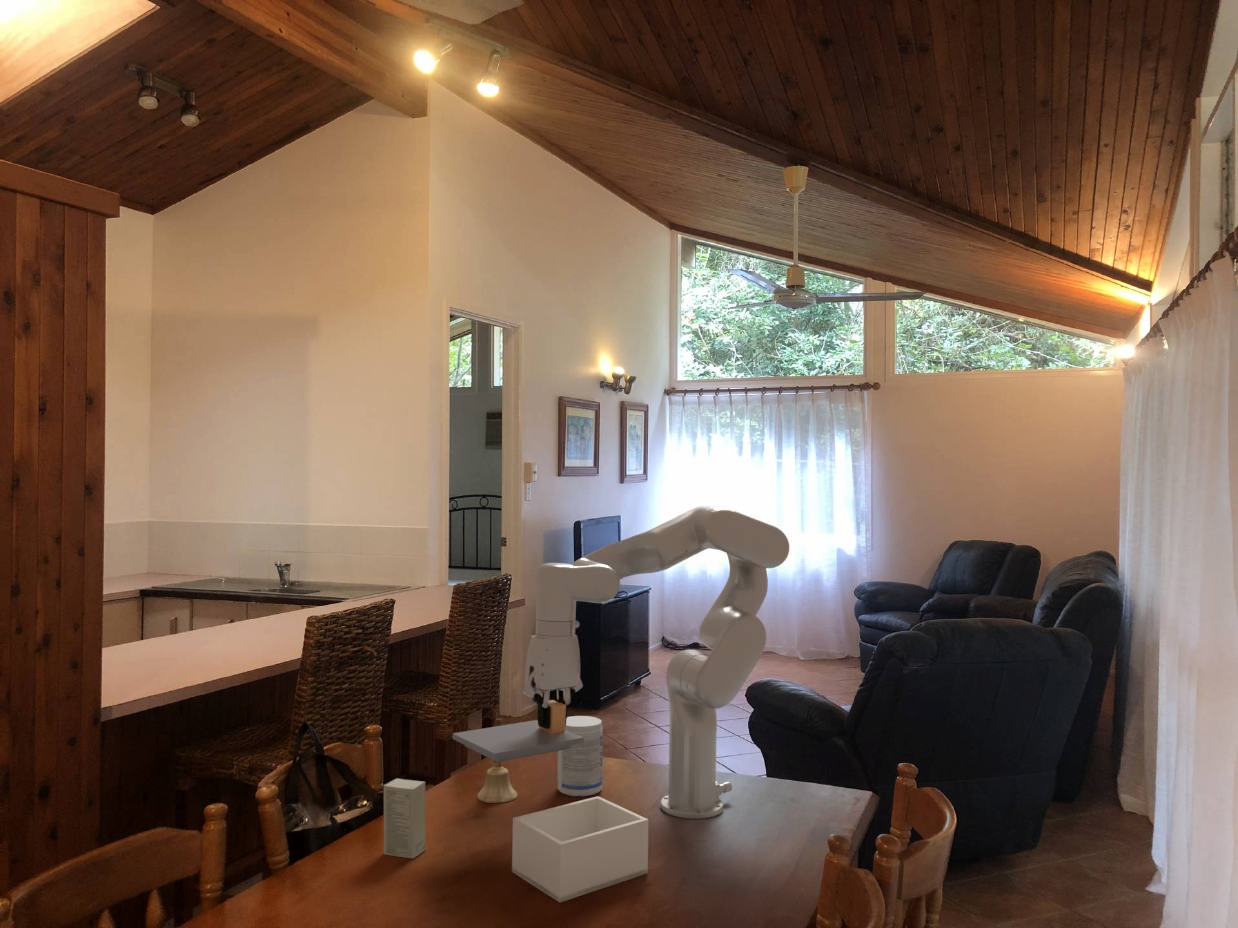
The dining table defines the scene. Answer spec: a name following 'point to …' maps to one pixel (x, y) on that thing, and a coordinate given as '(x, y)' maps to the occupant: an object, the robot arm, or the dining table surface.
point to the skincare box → (404, 818)
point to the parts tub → (579, 847)
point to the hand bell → (497, 782)
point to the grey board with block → (521, 737)
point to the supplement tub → (582, 758)
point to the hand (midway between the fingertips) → (552, 724)
